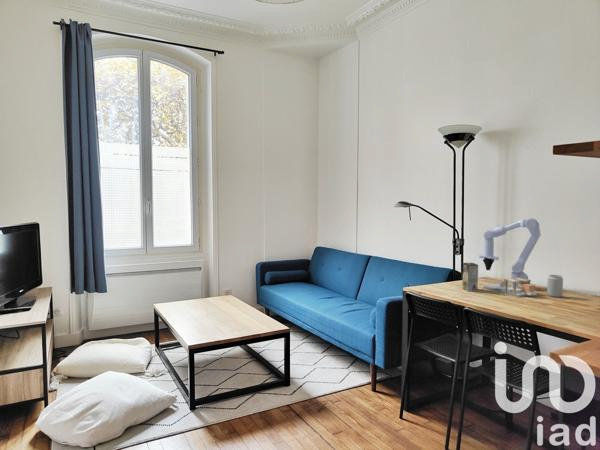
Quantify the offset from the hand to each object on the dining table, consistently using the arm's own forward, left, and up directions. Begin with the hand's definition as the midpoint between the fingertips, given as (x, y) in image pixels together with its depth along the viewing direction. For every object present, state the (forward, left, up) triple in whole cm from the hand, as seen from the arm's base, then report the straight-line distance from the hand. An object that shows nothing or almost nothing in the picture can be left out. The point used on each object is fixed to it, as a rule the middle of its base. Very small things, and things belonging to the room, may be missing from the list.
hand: (488, 270), depth 276 cm
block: (+6, +36, -7) cm, 37 cm away
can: (-8, +41, -10) cm, 43 cm away
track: (+6, +23, -9) cm, 25 cm away
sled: (+6, +28, -8) cm, 30 cm away
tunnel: (+6, +28, -8) cm, 30 cm away
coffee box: (+24, +10, -10) cm, 28 cm away
